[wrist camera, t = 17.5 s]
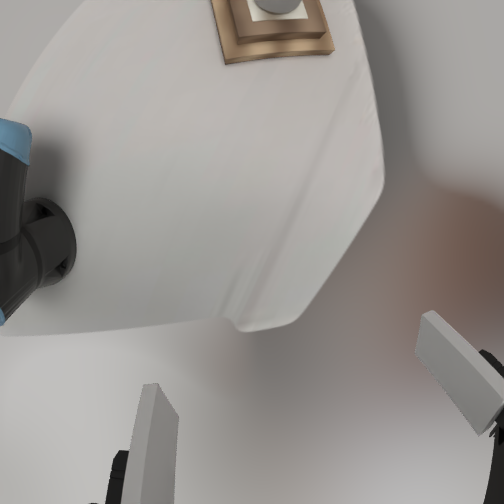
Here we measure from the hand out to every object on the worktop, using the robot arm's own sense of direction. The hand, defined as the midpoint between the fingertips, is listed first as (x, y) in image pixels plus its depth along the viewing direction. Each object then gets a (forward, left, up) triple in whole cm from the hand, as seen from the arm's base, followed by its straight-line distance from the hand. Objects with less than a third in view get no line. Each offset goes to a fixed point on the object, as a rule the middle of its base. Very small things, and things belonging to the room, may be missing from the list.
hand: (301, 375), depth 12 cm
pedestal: (+10, +31, -32) cm, 45 cm away
